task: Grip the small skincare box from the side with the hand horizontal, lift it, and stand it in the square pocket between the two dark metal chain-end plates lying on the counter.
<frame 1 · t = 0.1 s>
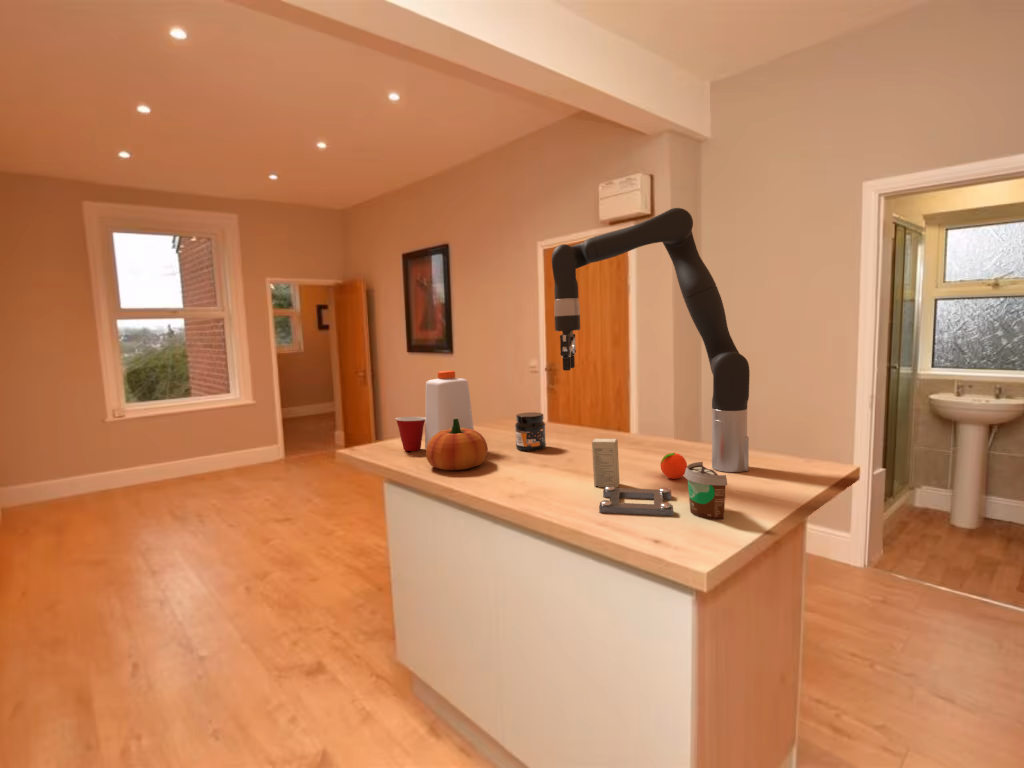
hand: (569, 369, 160), 29 cm above the table, tool pointing down, fingers open, 8 cm apart
chain ends: (636, 504, 125), on the table
food container: (700, 513, 118), on the table
skincare box: (606, 486, 141), on the table
plastic cup: (412, 450, 191), on the table
supplement container: (531, 448, 187), on the table
clementine: (672, 479, 144), on the table
plastic bottle: (450, 450, 189), on the table
pumpkin: (457, 466, 167), on the table
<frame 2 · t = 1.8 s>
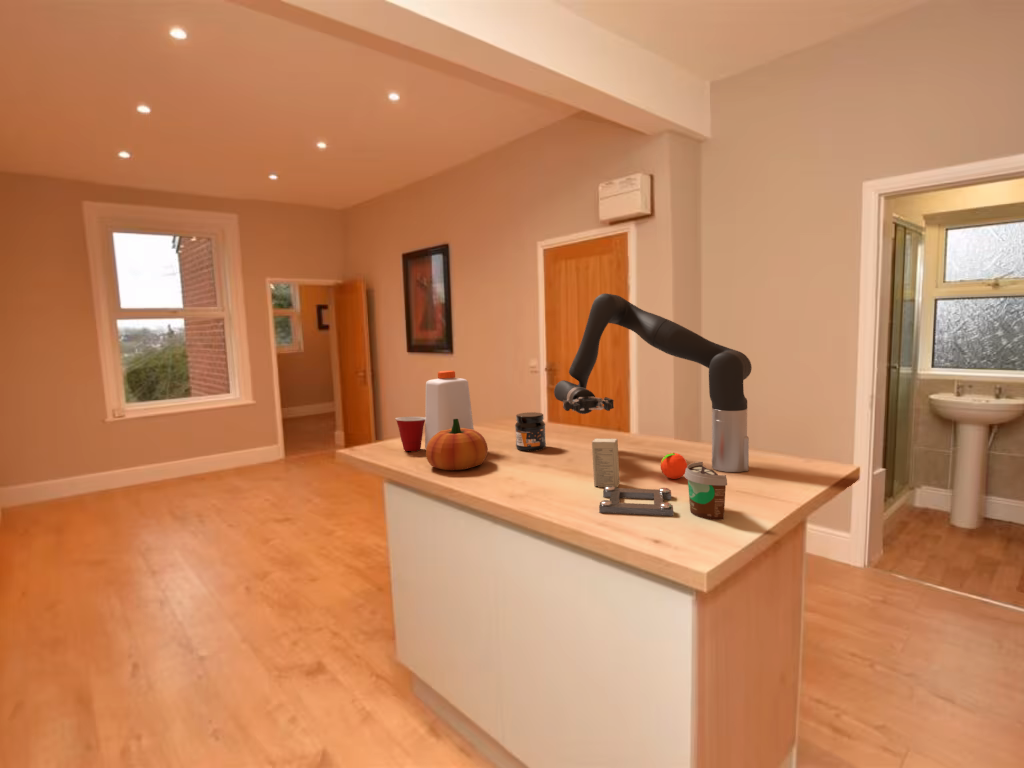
hand: (593, 407, 150), 19 cm above the table, tool horizontal, fingers open, 8 cm apart
nothing on the table moved.
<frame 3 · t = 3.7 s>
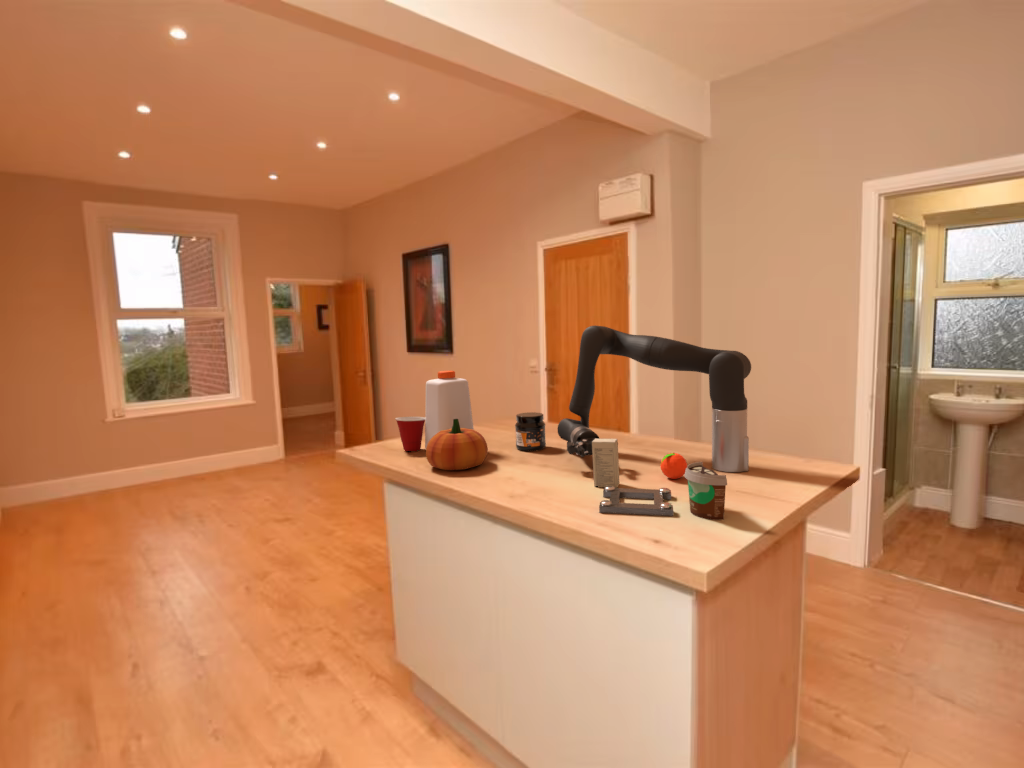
hand: (598, 452, 148), 7 cm above the table, tool horizontal, fingers open, 8 cm apart
nothing on the table moved.
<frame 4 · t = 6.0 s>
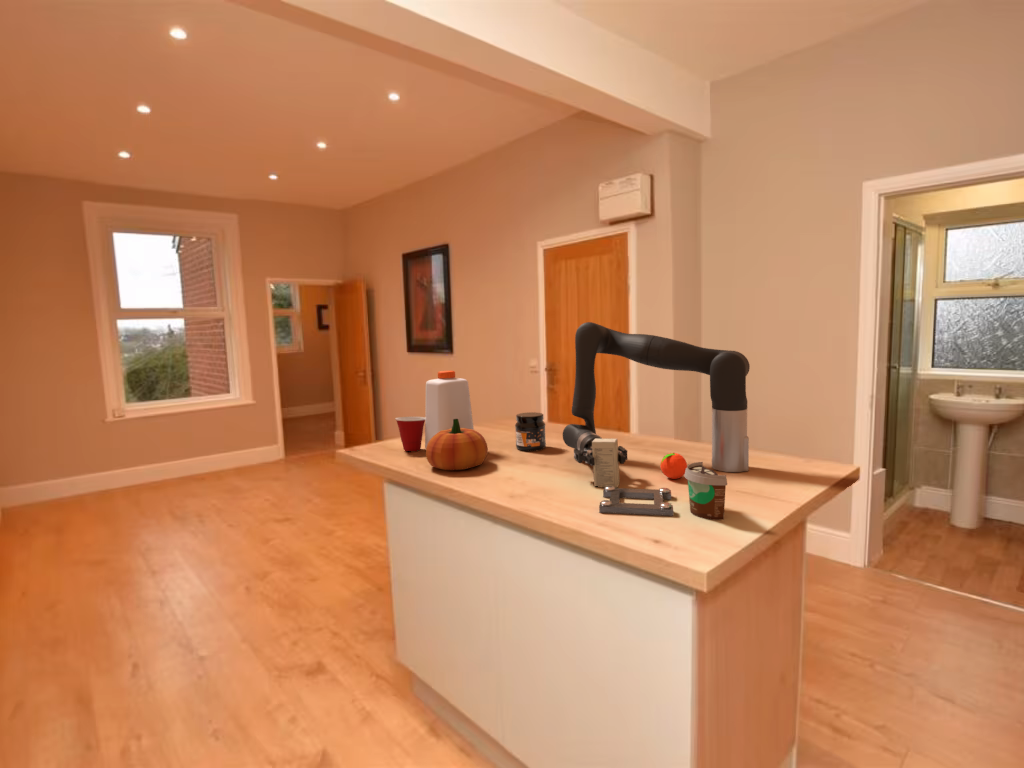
hand: (608, 461, 138), 7 cm above the table, tool horizontal, fingers closed on skincare box, 7 cm apart
skincare box: (606, 485, 141), on the table, touching gripper
everything else where it was.
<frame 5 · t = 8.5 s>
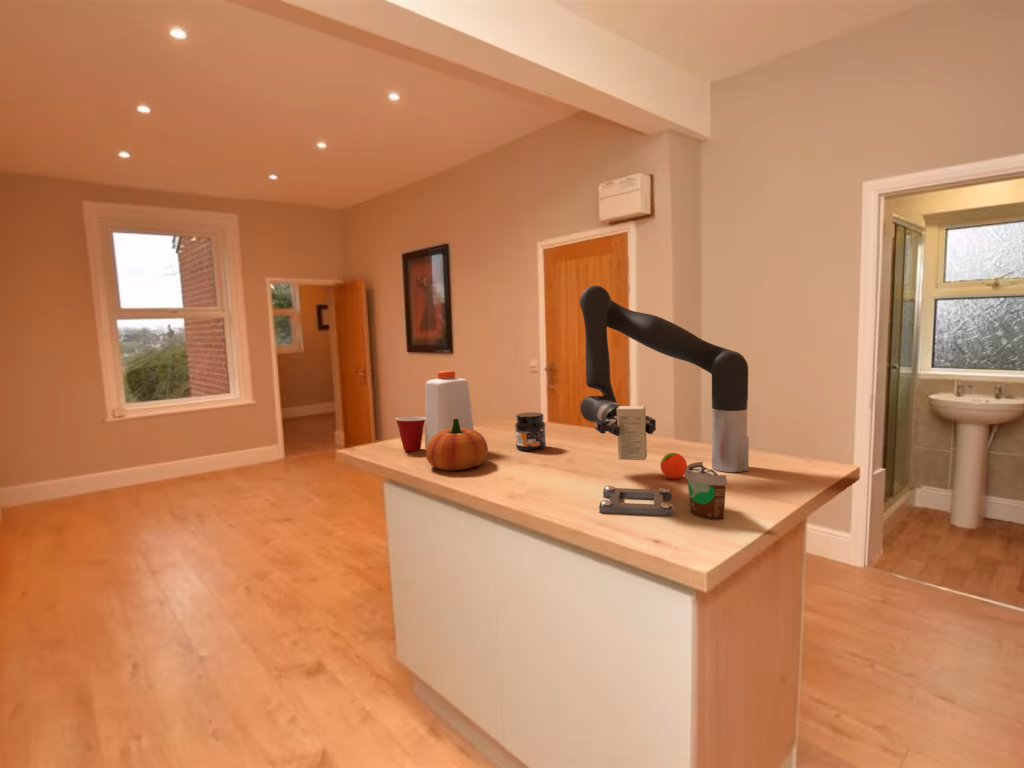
hand: (634, 430, 123), 18 cm above the table, tool horizontal, fingers closed on skincare box, 7 cm apart
skincare box: (632, 459, 125), point 11 cm above the table, touching gripper
everything else where it was.
when the fingers open (9 cm above the table, at t = 11.0 s): skincare box drops 2 cm, resting in chain ends.
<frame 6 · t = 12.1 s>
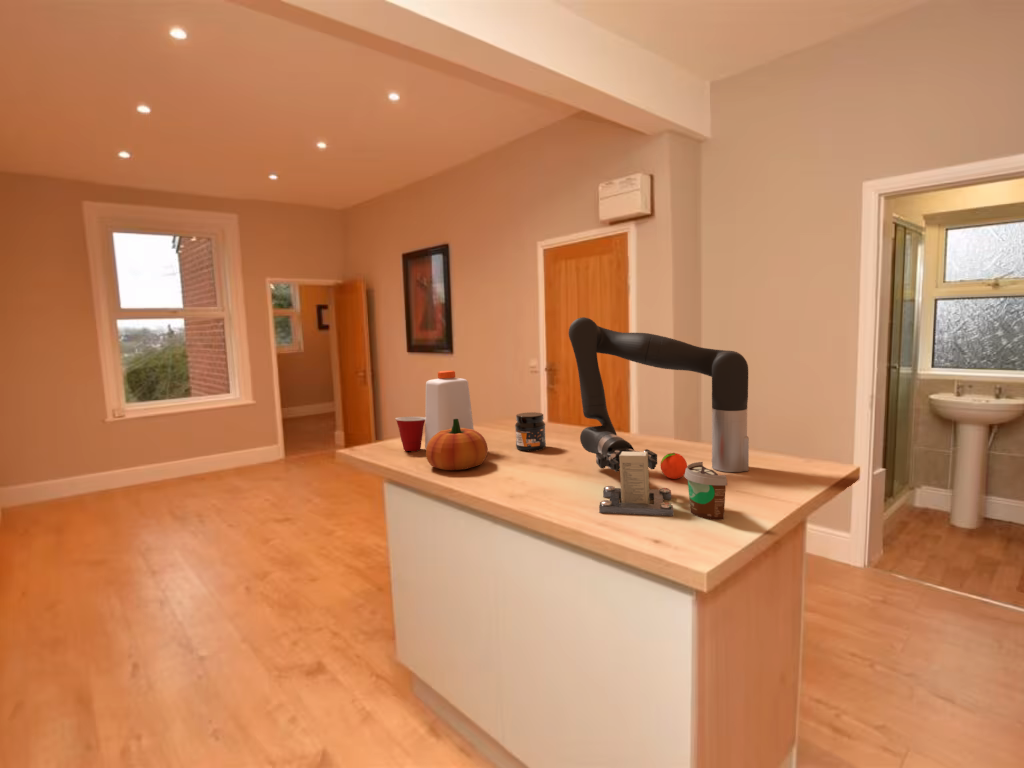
hand: (635, 466, 125), 9 cm above the table, tool horizontal, fingers open, 8 cm apart
skincare box: (635, 504, 126), resting in chain ends
everything else where it was.
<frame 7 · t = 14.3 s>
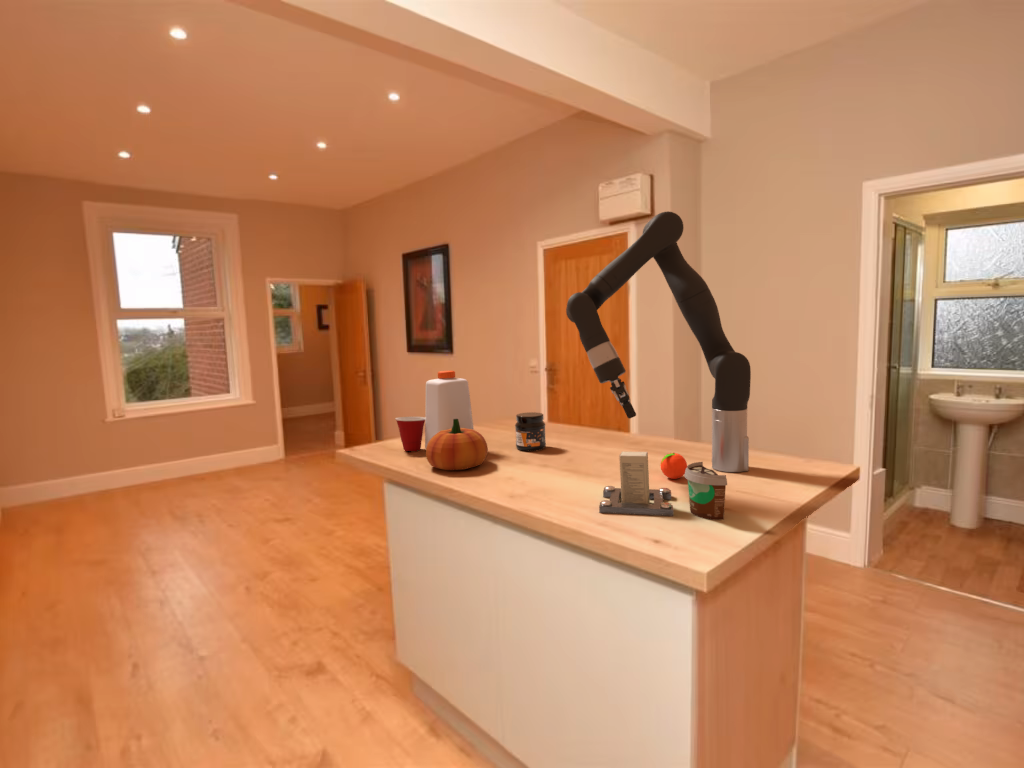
hand: (632, 417, 141), 17 cm above the table, tool tilted 25°, fingers open, 8 cm apart
nothing on the table moved.
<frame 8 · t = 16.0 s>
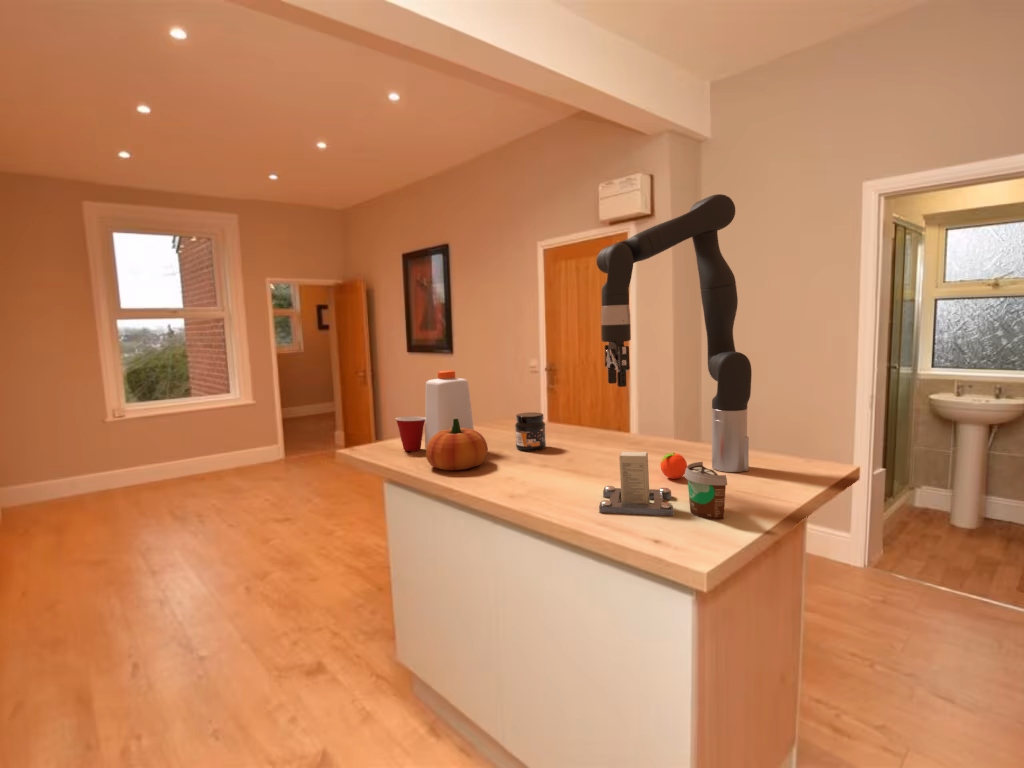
hand: (616, 384, 141), 26 cm above the table, tool pointing down, fingers open, 8 cm apart
nothing on the table moved.
at the end: skincare box 0.3 cm off-centre on the chain ends, point 0.0 cm above the chain ends's base; skincare box tilted 0°; the gripper is holding nothing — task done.
